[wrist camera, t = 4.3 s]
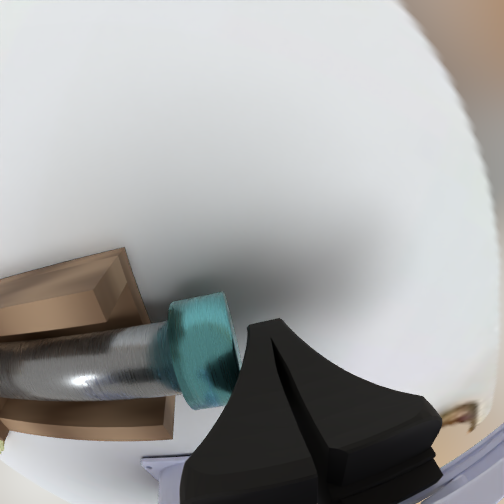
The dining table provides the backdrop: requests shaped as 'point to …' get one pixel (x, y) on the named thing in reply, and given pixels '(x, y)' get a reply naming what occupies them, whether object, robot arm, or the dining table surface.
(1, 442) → the decorated donut
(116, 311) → the housing
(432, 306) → the dining table surface
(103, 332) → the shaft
